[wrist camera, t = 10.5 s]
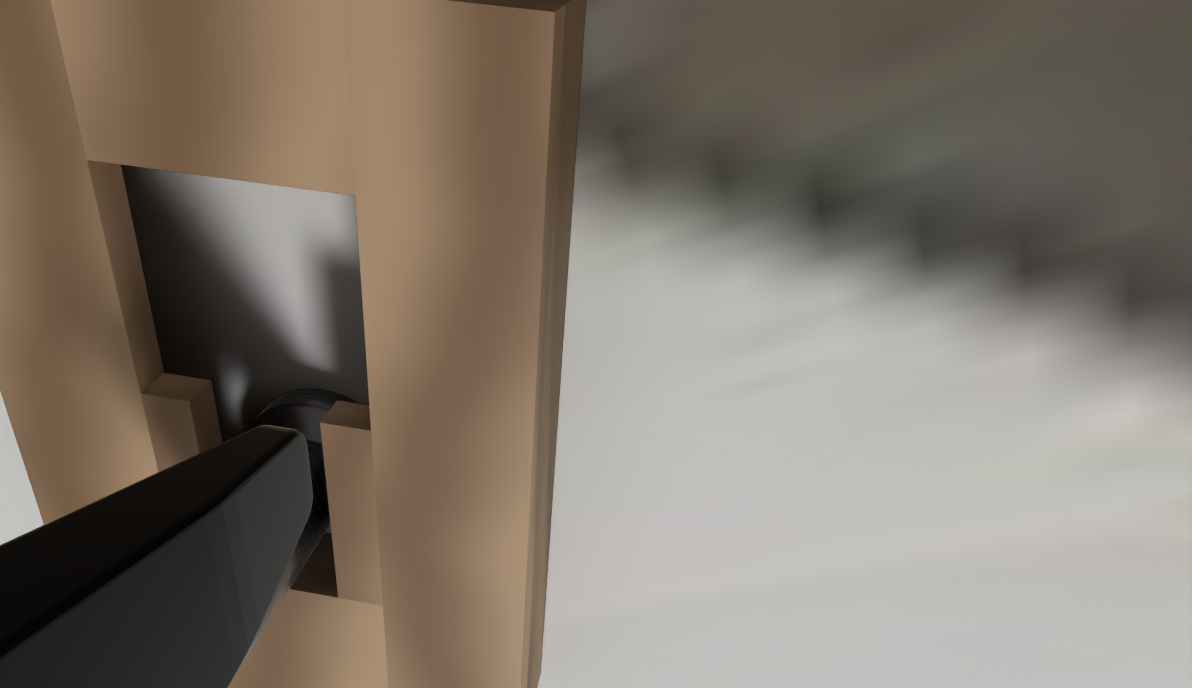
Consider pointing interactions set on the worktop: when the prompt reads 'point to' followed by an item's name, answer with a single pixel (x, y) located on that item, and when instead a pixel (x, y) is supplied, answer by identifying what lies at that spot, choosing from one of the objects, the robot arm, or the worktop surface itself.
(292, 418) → the tee peg
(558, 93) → the keyhole board
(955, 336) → the worktop surface
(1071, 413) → the worktop surface
